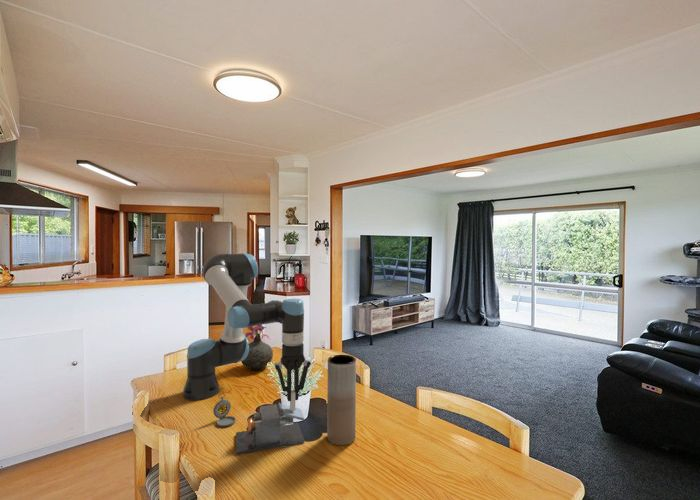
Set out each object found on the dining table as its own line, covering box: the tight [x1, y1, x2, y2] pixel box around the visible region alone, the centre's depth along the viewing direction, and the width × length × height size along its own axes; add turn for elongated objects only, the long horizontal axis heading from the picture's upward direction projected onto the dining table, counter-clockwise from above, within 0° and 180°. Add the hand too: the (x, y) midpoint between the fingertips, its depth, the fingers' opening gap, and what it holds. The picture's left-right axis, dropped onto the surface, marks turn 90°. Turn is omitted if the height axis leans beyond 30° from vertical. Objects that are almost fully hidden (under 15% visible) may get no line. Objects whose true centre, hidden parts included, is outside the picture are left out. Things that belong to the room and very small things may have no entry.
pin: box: [247, 416, 294, 435], centre depth 118 cm, size 5×15×5 cm, turn 109°
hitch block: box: [235, 403, 305, 456], centre depth 118 cm, size 12×22×10 cm, turn 109°
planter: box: [326, 354, 357, 446], centre depth 119 cm, size 10×10×28 cm
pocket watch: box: [212, 393, 236, 428], centre depth 129 cm, size 8×8×10 cm
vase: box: [241, 325, 274, 371], centre depth 186 cm, size 17×18×30 cm
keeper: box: [277, 402, 305, 421], centre depth 120 cm, size 8×1×9 cm
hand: (292, 409), depth 120 cm, fingers closed
